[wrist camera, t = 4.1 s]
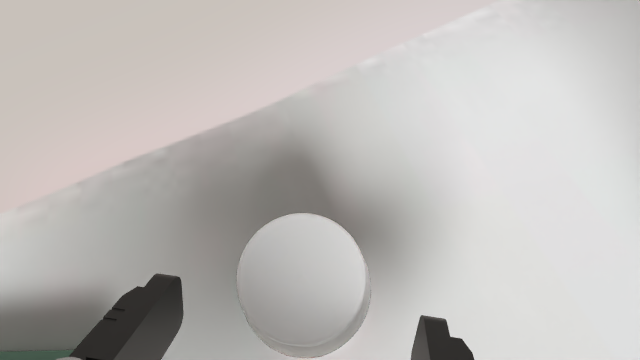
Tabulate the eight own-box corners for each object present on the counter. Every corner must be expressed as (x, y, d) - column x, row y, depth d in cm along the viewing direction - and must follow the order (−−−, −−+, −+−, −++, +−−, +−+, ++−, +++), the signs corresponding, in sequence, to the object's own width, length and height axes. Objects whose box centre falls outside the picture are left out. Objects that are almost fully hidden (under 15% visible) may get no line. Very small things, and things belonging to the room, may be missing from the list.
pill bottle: (280, 366, 19) (242, 387, 11) (256, 270, 20) (206, 229, 13) (375, 333, 19) (403, 330, 11) (343, 241, 21) (347, 183, 13)
